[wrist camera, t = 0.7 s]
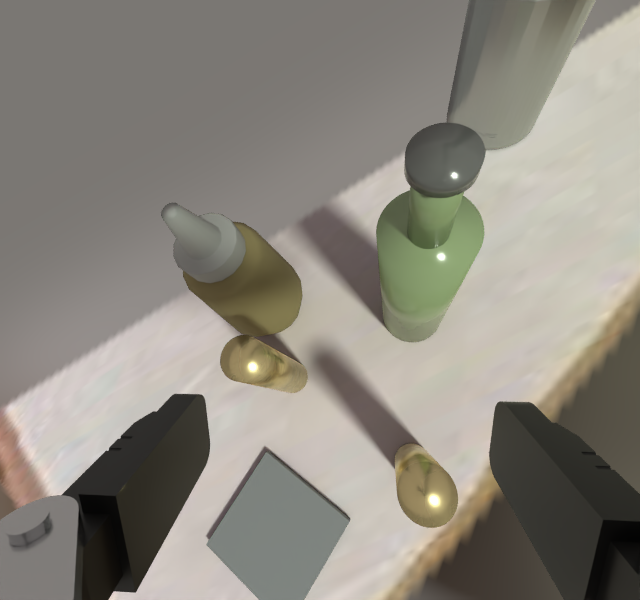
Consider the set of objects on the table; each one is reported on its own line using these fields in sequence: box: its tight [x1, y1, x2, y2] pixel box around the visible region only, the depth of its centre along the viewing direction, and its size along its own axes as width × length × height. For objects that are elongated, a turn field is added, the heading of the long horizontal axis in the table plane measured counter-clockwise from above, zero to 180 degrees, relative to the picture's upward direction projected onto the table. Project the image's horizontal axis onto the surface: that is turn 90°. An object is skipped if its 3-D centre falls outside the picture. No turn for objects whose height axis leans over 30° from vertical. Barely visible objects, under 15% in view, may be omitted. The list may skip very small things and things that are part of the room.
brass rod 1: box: [220, 335, 308, 393], centre depth 27 cm, size 3×3×12 cm
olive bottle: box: [376, 123, 485, 342], centre depth 22 cm, size 5×5×22 cm
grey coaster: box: [206, 451, 350, 600], centre depth 28 cm, size 9×9×1 cm
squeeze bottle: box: [161, 203, 302, 337], centre depth 27 cm, size 8×8×18 cm
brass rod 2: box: [395, 443, 458, 528], centre depth 23 cm, size 3×3×12 cm
